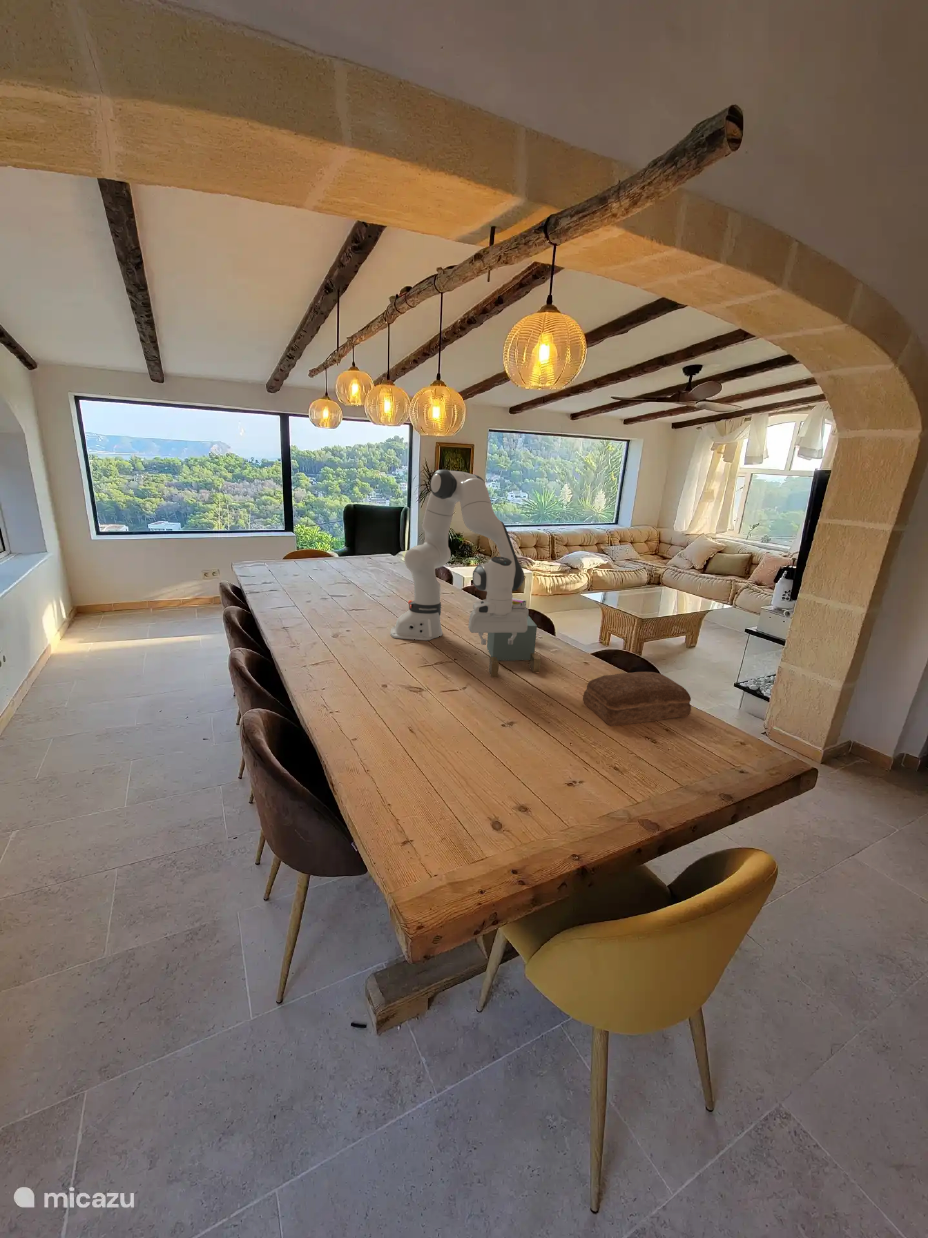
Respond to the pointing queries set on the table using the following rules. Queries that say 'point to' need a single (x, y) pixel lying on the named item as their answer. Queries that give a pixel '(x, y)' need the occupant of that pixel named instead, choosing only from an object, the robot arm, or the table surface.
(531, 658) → the token
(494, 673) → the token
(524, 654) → the coin box
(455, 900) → the table surface
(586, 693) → the bread
